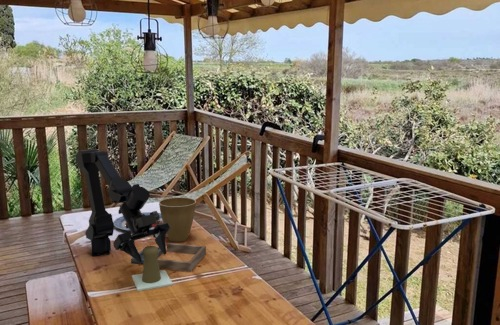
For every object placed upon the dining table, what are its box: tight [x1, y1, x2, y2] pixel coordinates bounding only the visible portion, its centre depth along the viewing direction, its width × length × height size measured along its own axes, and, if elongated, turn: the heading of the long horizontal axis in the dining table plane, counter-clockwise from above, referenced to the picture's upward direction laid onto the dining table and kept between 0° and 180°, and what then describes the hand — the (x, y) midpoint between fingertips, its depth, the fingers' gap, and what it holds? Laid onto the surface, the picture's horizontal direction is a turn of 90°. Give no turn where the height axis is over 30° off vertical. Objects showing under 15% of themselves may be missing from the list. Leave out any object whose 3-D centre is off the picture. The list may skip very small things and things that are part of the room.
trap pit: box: [130, 246, 163, 265], centre depth 164 cm, size 7×13×2 cm, turn 167°
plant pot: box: [158, 196, 197, 243], centre depth 182 cm, size 15×15×16 cm
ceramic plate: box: [113, 211, 163, 231], centre depth 201 cm, size 26×26×3 cm
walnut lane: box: [158, 242, 207, 273], centre depth 162 cm, size 15×16×3 cm
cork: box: [141, 245, 161, 283], centre depth 144 cm, size 6×6×11 cm
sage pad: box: [131, 269, 173, 292], centre depth 145 cm, size 11×11×1 cm
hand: (153, 258), depth 143 cm, fingers open, 9 cm apart
